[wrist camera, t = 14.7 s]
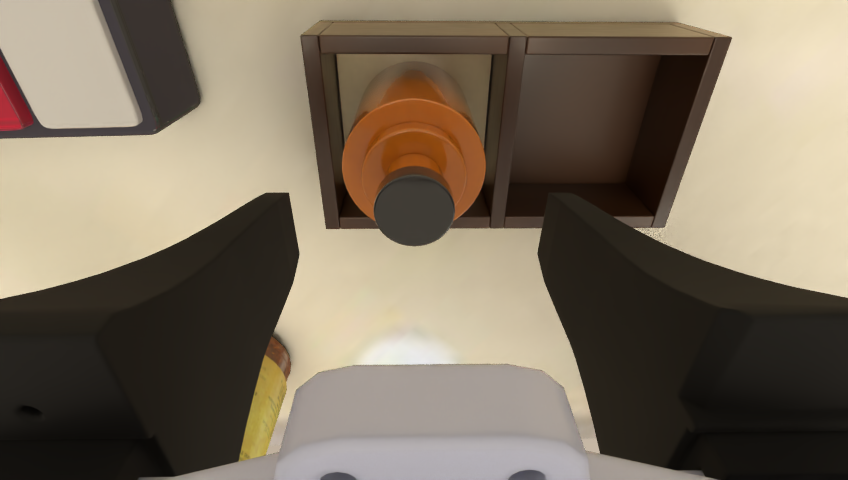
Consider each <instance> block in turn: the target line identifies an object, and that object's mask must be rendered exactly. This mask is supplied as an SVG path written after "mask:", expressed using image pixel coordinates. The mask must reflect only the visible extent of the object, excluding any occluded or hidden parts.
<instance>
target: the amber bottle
mask: <svg viewBox="0 0 848 480" xmlns="http://www.w3.org/2000/svg"><path fill="white" fill-rule="evenodd" d="M485 172H486V159H485V152H484V148H483V145H482V142H481V139H480V136H479V133H478V131H477V128H476V125H475V122H474V119H473V117H472V114H471V111H470V108H469V105H468V103H467V100H466V97H465V95H464V93H463V91H462V89H461V87H460V86H459V84H458V83H457V82H456V80H455V79H454V78H453V77H452V76H451V75H450V74H448V73H447V72H446V71H444V70H443V69H441V68H439V67H437V66H435V65H432V64H429V63H425V62H419V61H408V62H402V63H398V64H395V65H392V66H390V67H388V68H386V69H384V70H383V71H381V72H380V73H379V74H377V75H376V76H375V77H374V78H373V79H372V80H371V82H370V83H369V84H368V86H367V87H366V89H365V91H364V93H363V95H362V98H361V101H360V104H359V106H358V109H357V112H356V115H355V118H354V121H353V124H352V126H351V129H350V132H349V135H348V138H347V141H346V143H345V147H344V151H343V156H342V173H343V179H344V182H345V185H346V188H347V190H348V193H349V195H350V196H351V198H352V199H353V201H354V203H355V204H356V205H357V206H358V207H359V208H360V210H361V211H363V212H364V213H365V214H366V215H367V216H368V217H370V218H371V219H373V220H374V221H375V222H376V224H377V226H378V227H379V229H380V230H381V231H382V233H383V234H384V235H385V236H386V237H388V238H389V239H391V240H392V241H394V242H396V243H399V244H402V245H406V246H422V245H427V244H430V243H432V242H434V241H436V240H438V239H439V238H441V237H442V236H443V235H444V234H445V233H446V232H447V231H448V230H449V228H450V227H451V225H452V223H453V221H454V220H456V219H457V218H458V217H460V216H461V215H462V214H463V213H464V212H466V211H467V210H468V209H469V207H470V206H471V205H472V204H473V203H474V201H475V199H476V198H477V196H478V195H479V192H480V190H481V188H482V185H483V182H484V178H485Z"/></svg>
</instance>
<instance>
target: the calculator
mask: <svg viewBox="0 0 848 480" xmlns="http://www.w3.org/2000/svg"><path fill="white" fill-rule="evenodd" d="M199 104H200V96H199V92H198V89H197V86H196V83H195V79H194V76H193V73H192V70H191V66H190V63H189V60H188V57H187V53H186V50H185V47H184V44H183V40H182V37H181V34H180V31H179V27H178V24H177V21H176V18H175V14H174V11H173V8H172V5H171V1H170V0H0V138H41V137H82V136H123V135H152V134H156V133H158V132H160V131H161V130H163V129H164V128H166V127H167V126H169V125H170V124H172V123H174V122H175V121H177V120H178V119H180V118H181V117H183V116H184V115H186V114H187V113H189V112H191V111H192V110H193V109H195V108H196V107H198V106H199Z"/></svg>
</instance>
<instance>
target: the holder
mask: <svg viewBox="0 0 848 480" xmlns="http://www.w3.org/2000/svg"><path fill="white" fill-rule="evenodd" d="M300 37H301V44H302V52H303V59H304V67H305V75H306V82H307V90H308V97H309V105H310V112H311V120H312V127H313V135H314V142H315V150H316V157H317V165H318V172H319V180H320V187H321V195H322V202H323V210H324V217H325V225H326V229H340V228H341V229H379V227H378V226H377V224H376V222H375V221H374V220H373V219H371V218H370V217H368V216H367V215H366V214H365V213H364V212H363V211H361V210H360V208H359V207H358V206H357V205H356V204H355V203H354V201H353V199H352V198H351V196H350V195H349V193H348V190H347V188H346V185H345V182H344V179H343V173H342V156H343V151H344V147H345V143H346V141H347V138H348V135H349V132H350V129H351V126H352V124H353V121H354V118H355V115H356V112H357V109H358V106H359V104H360V101H361V98H362V95H363V93H364V91H365V89H366V87H367V86H368V84H369V83H370V82H371V80H372V79H373V78H374V77H375V76H376V75H377V74H379V73H380V72H381V71H383V70H384V69H386V68H388V67H390V66H392V65H395V64H398V63H402V62H408V61H419V62H425V63H429V64H432V65H435V66H437V67H439V68H441V69H443V70H444V71H446V72H447V73H448V74H450V75H451V76H452V77H453V78H454V79H455V80H456V82H457V83H458V84H459V86H460V87H461V89H462V91H463V93H464V95H465V97H466V100H467V103H468V105H469V108H470V111H471V114H472V117H473V119H474V122H475V125H476V128H477V131H478V133H479V136H480V139H481V142H482V145H483V148H484V152H485V159H486V172H485V178H484V182H483V185H482V188H481V190H480V192H479V195H478V196H477V198H476V199H475V201H474V203H473V204H472V205H471V206H470V207H469V209H468V210H467V211H466V212H464V213H463V214H462V215H461V216H460V217H458V218H457V219H456V220H454V221H453V223H452V225H451V227H450V228H489V227H490V228H503V227H504V228H542V226H543V220H544V215H545V209H546V204H547V198H548V193H572V194H575V195H577V196H579V197H581V198H582V199H584V200H586V201H588V202H589V203H591V204H593V205H594V206H596V207H598V208H599V209H601V210H603V211H604V212H606V213H608V214H609V215H611V216H613V217H614V218H616V219H618V220H620V221H621V222H623V223H625V224H626V225H628V226H630V227H632V228H650V227H652V228H664V227H665V224H666V221H667V219H668V216H669V213H670V210H671V207H672V205H673V202H674V199H675V196H676V193H677V191H678V188H679V185H680V182H681V179H682V177H683V174H684V171H685V168H686V165H687V163H688V160H689V157H690V154H691V151H692V149H693V146H694V143H695V140H696V137H697V135H698V132H699V129H700V126H701V123H702V121H703V118H704V115H705V112H706V109H707V107H708V104H709V101H710V98H711V95H712V93H713V90H714V87H715V84H716V81H717V79H718V76H719V73H720V70H721V67H722V65H723V62H724V59H725V56H726V53H727V51H728V48H729V45H730V42H731V39H732V37H729V36H726V35H722V34H718V33H715V32H711V31H707V30H704V29H700V28H696V27H692V26H689V25H685V24H681V23H675V22H504V21H332V20H321V21H319V22H318V23H316V24H315V25H314V26H312V27H311V28H310V29H308V30H307V31H306V32H304V33H303V34H302V35H301V36H300Z"/></svg>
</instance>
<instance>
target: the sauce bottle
mask: <svg viewBox="0 0 848 480" xmlns="http://www.w3.org/2000/svg"><path fill="white" fill-rule="evenodd" d="M290 367H291V362H290V358H289V354H288V353H287V351H286V349H285V347H284V346H282V345H281V344H280V343H279V342H278V341H277V340H276V339H275V338H273V337H271V340H270V342H269V344H268V347H267V350H266V353H265V356H264V359H263V362H262V366H261V370H260V373H259V377H258V381H257V385H256V388H255V392H254V396H253V400H252V404H251V408H250V413H249V417H248V421H247V425H246V429H245V434H244V439H243V443H242V448H241V453H240V457H239V461H244V460H248V459H252V458H256V457H260V456H265V455H266V452H267V449H268V446H269V443H270V440H271V437H272V434H273V430H274V427H275V424H276V421H277V418H278V415H279V412H280V409H281V406H282V403H283V400H284V397H285V394H286V390H287V388H286V381H287V378H288V376H289V374H290Z"/></svg>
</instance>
